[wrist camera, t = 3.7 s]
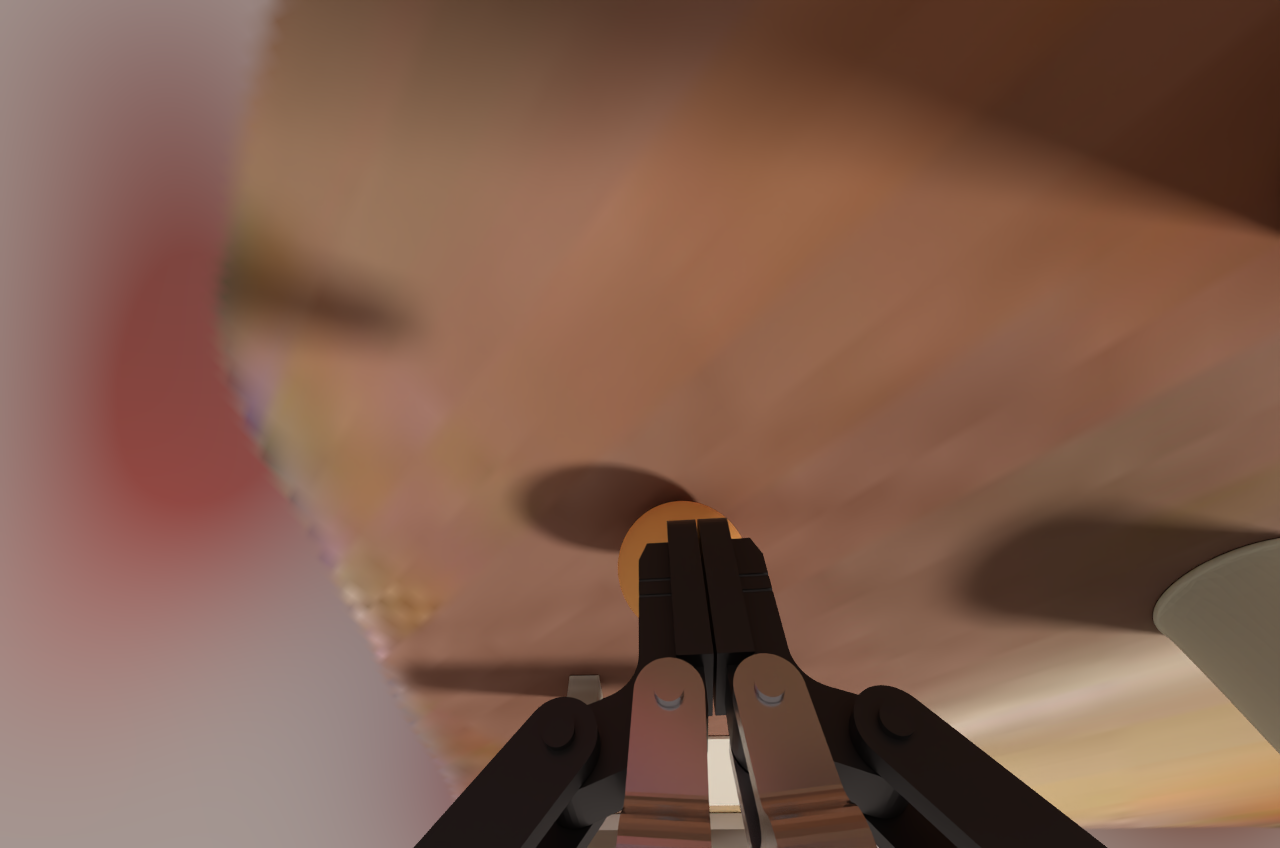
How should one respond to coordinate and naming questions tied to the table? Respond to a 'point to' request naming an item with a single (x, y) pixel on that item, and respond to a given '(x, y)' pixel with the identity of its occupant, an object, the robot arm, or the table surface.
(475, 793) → the robot arm
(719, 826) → the wall
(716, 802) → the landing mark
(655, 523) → the ball
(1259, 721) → the can
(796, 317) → the table surface
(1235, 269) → the table surface
